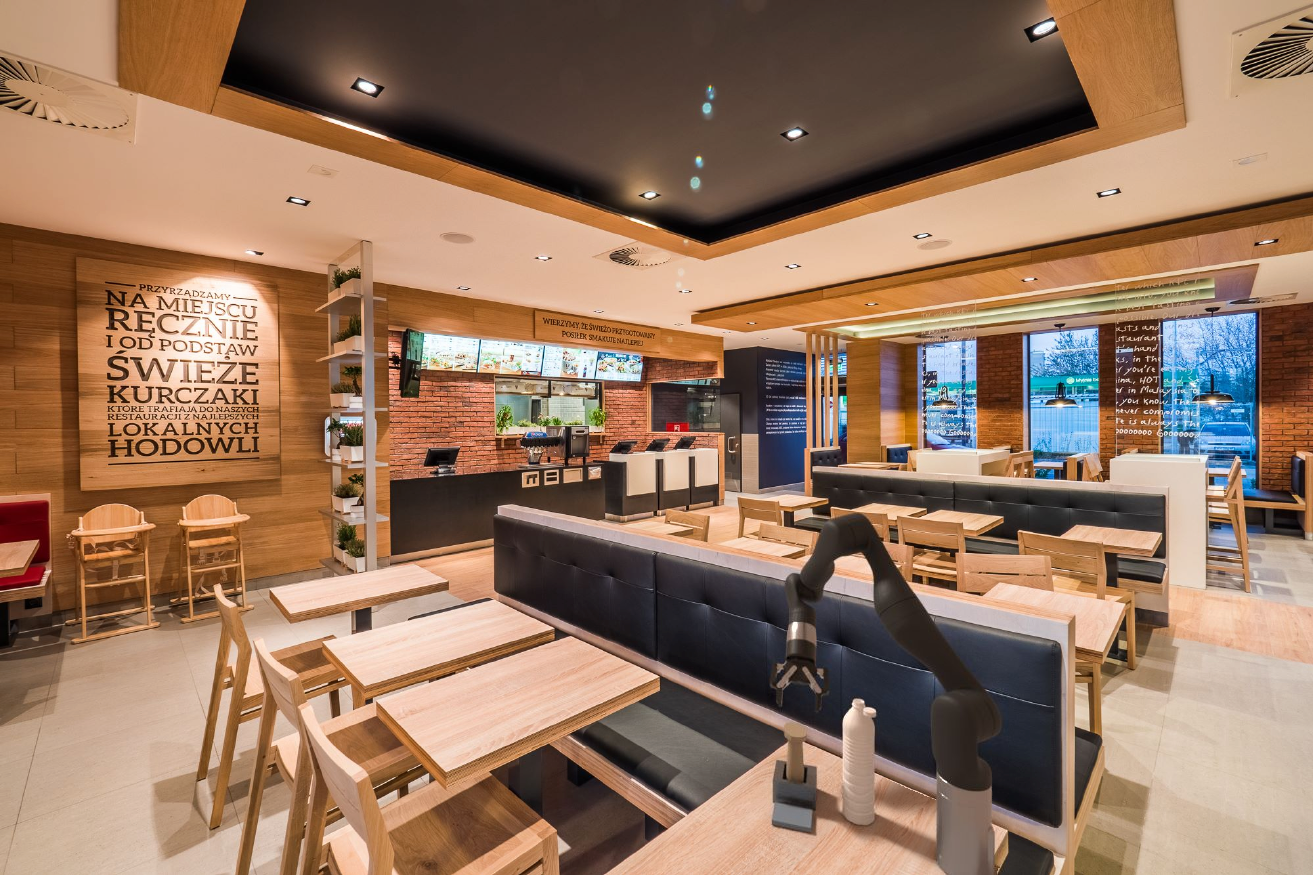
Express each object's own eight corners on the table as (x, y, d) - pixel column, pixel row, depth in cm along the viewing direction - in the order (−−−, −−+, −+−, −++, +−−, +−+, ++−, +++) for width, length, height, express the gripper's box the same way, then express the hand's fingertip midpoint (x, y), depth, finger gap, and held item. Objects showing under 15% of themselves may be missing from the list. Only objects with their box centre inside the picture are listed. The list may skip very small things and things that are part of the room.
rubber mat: (812, 814, 123) (812, 809, 123) (811, 832, 117) (811, 827, 117) (774, 806, 125) (774, 802, 125) (771, 824, 119) (771, 819, 119)
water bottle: (836, 807, 125) (837, 694, 124) (863, 804, 126) (864, 692, 126) (858, 835, 116) (858, 714, 116) (887, 831, 117) (887, 711, 117)
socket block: (816, 787, 132) (816, 766, 132) (815, 810, 124) (815, 787, 124) (776, 780, 134) (776, 759, 134) (772, 802, 127) (772, 779, 126)
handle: (788, 804, 126) (788, 737, 126) (781, 786, 132) (781, 722, 132) (809, 804, 126) (809, 737, 126) (801, 785, 132) (801, 722, 132)
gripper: (772, 634, 147) (767, 698, 137) (829, 640, 143) (828, 707, 132) (774, 647, 152) (769, 709, 142) (830, 653, 148) (829, 718, 137)
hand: (798, 708), depth 137 cm, fingers open, 8 cm apart
